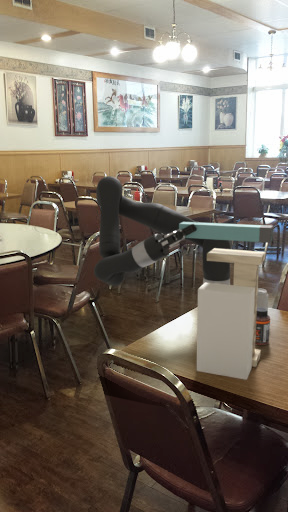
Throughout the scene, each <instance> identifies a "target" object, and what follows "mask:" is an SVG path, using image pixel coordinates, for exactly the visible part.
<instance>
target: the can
mask: <svg viewBox="0 0 288 512" xmlns="http://www.w3.org/2000/svg"><path fill="white" fill-rule="evenodd" d="M269 297H270V296H269V293H268V291H267V289H264V288H261V287H258V293H257V307H263V308H266V309H267V310H268V312H269ZM268 312H267V313H268ZM268 314H269V313H268Z"/></svg>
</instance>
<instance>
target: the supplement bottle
mask: <svg viewBox="0 0 288 512" xmlns="http://www.w3.org/2000/svg"><path fill="white" fill-rule="evenodd" d="M267 312H269V309H268V310H267V309H266V308H263V307H257V316H256V338H255V346H266V345H268V344H269V342H270V341H269V340H270V332H271V331H270V329H271V328H270V327H271V317H270V316H269V313H267Z"/></svg>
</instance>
